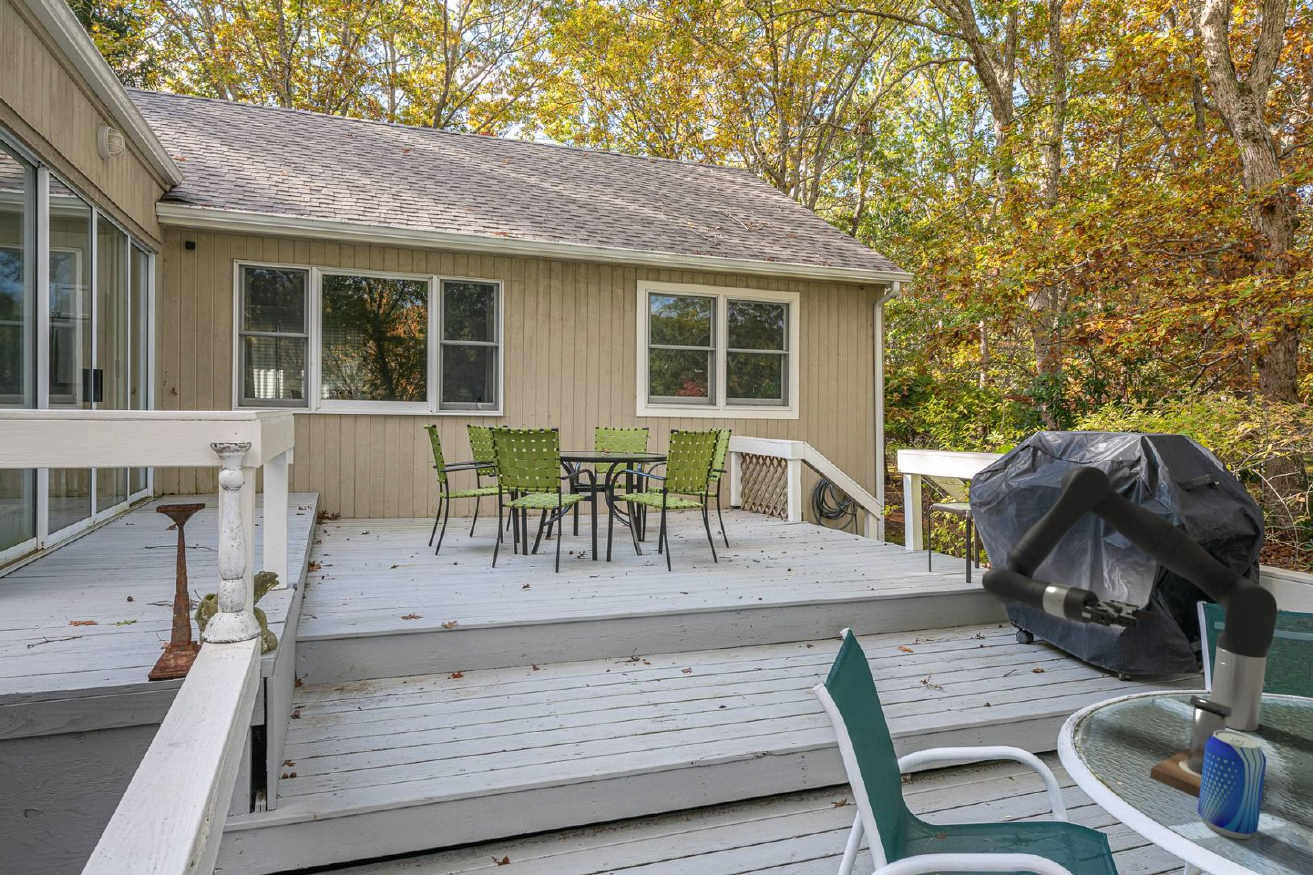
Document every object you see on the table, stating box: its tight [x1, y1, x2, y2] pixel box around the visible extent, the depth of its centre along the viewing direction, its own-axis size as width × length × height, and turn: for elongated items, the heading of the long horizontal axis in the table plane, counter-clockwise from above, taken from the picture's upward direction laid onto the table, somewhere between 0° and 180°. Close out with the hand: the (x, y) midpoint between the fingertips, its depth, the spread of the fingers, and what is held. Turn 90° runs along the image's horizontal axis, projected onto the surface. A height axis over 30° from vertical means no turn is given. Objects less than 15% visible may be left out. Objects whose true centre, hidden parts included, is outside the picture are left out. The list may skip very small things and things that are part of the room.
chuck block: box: [1149, 748, 1202, 799], centre depth 150 cm, size 16×12×2 cm
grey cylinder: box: [1187, 694, 1232, 775], centre depth 149 cm, size 5×6×14 cm
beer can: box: [1197, 729, 1267, 840], centre depth 133 cm, size 8×8×16 cm
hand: (1147, 621), depth 163 cm, fingers open, 8 cm apart
